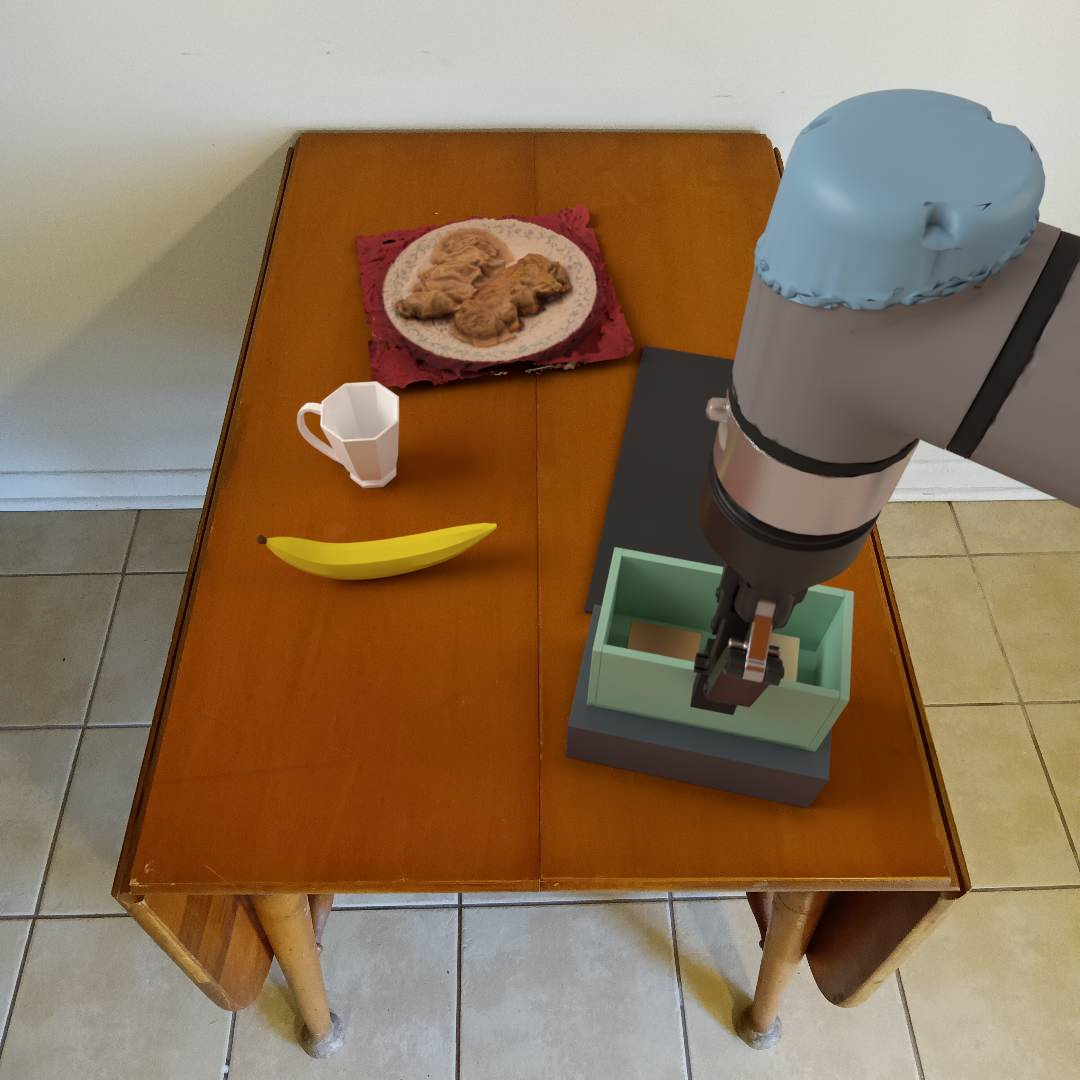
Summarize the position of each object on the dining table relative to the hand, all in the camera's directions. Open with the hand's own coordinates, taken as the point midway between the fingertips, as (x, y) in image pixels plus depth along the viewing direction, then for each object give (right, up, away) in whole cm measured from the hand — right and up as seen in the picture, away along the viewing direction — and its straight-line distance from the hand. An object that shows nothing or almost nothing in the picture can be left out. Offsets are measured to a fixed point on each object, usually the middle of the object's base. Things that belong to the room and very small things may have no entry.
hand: (712, 700), depth 60 cm
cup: (-27, +17, +27) cm, 42 cm away
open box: (+1, 0, +8) cm, 9 cm away
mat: (+3, +16, +26) cm, 30 cm away
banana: (-24, +8, +21) cm, 32 cm away
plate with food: (-16, +35, +39) cm, 55 cm away
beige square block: (+5, 0, +8) cm, 9 cm away
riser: (+1, -4, +13) cm, 14 cm away
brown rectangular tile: (-2, +1, +8) cm, 9 cm away
